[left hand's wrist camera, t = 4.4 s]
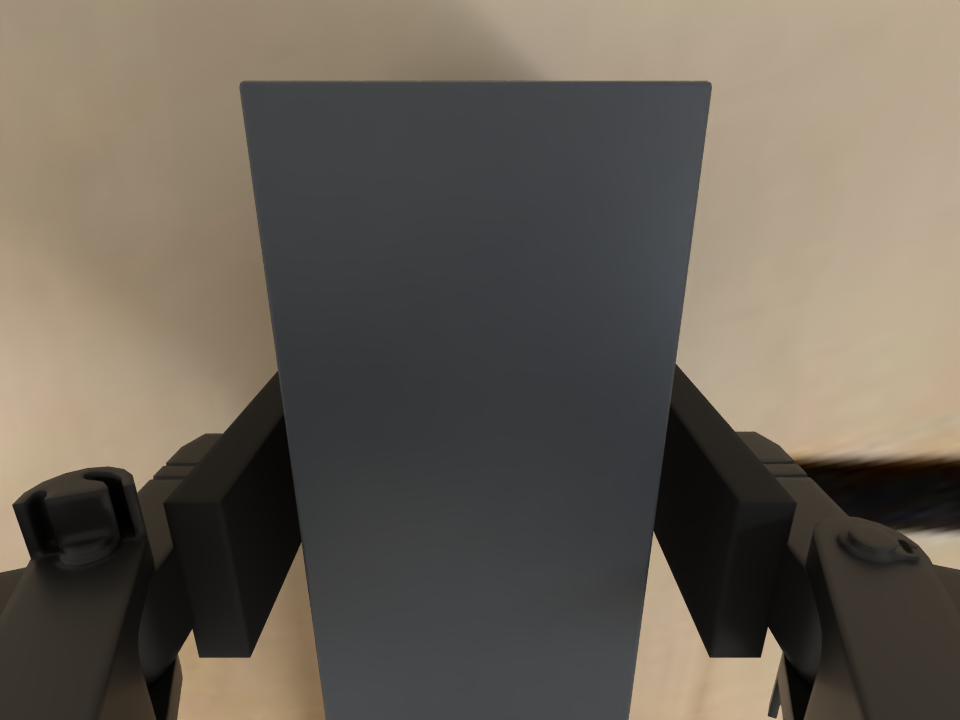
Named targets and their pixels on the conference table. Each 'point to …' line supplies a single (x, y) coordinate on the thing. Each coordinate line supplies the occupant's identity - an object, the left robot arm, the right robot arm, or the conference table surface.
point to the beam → (476, 376)
